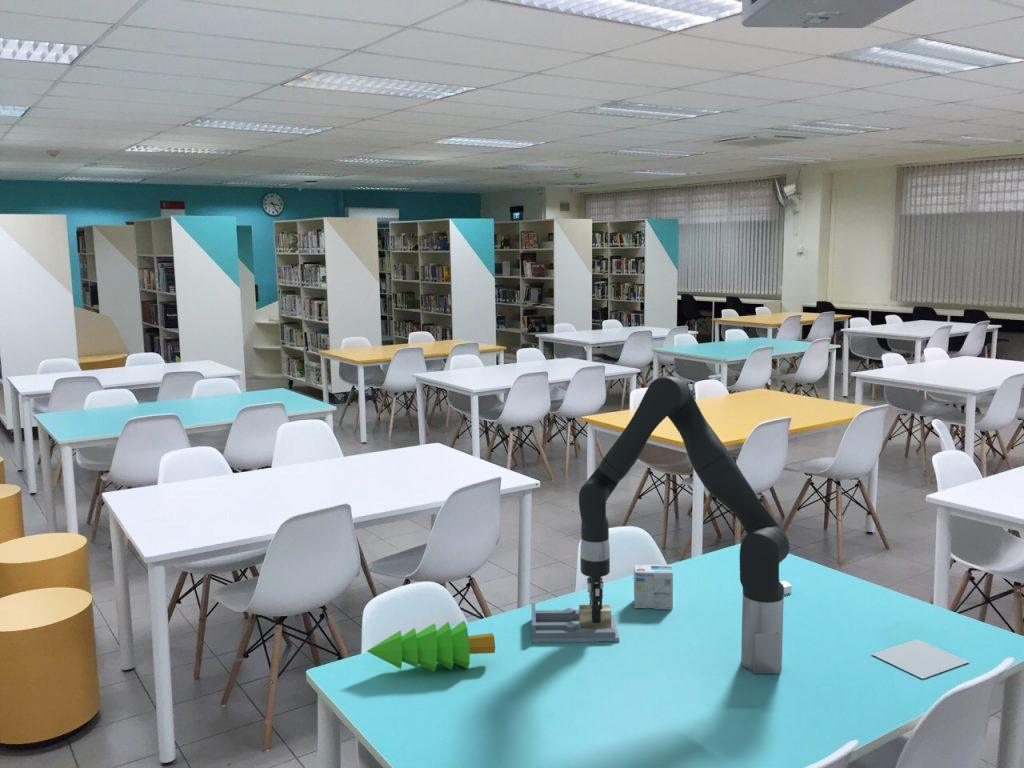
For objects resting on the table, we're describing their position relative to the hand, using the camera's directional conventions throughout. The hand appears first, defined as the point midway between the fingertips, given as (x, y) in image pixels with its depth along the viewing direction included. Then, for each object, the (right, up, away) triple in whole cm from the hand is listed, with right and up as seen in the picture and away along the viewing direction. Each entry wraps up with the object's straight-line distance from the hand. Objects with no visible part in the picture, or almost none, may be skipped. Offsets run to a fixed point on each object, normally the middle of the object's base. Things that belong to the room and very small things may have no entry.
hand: (595, 616), depth 217 cm
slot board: (-5, -4, +1) cm, 7 cm away
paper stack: (+77, -5, -12) cm, 78 cm away
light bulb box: (+18, -1, +16) cm, 24 cm away
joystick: (+53, 0, +24) cm, 58 cm away
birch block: (0, -2, +1) cm, 3 cm away
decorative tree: (-41, -7, -19) cm, 45 cm away
